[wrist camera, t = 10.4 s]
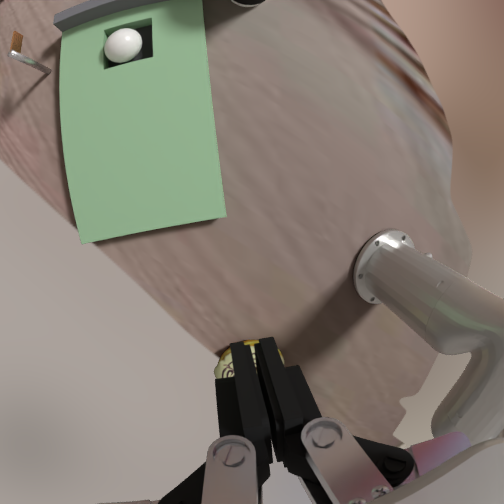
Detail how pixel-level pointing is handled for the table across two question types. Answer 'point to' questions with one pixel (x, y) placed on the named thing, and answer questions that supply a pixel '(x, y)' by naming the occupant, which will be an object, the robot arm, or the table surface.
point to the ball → (123, 45)
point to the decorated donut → (226, 364)
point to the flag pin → (16, 51)
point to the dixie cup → (247, 2)
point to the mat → (138, 119)
